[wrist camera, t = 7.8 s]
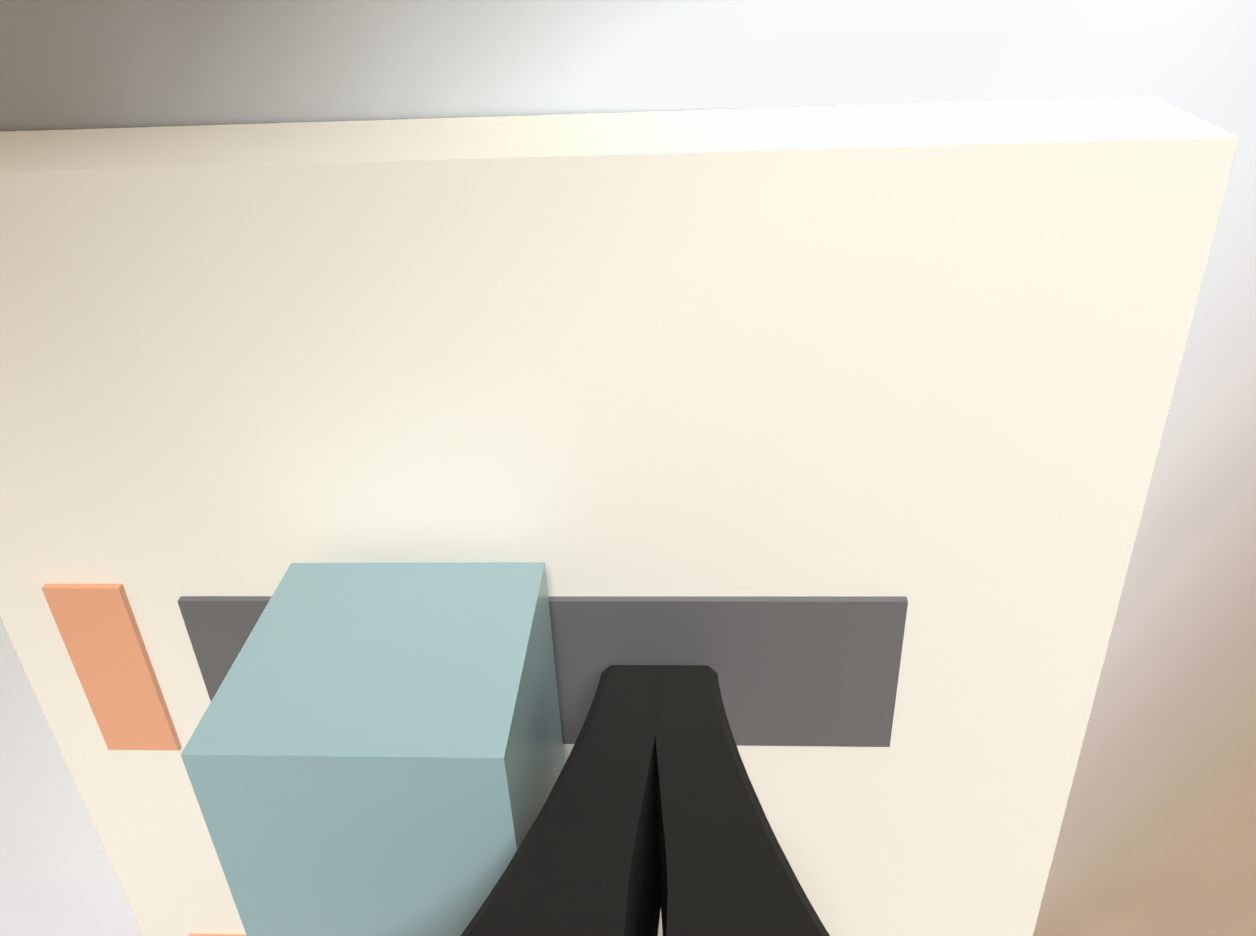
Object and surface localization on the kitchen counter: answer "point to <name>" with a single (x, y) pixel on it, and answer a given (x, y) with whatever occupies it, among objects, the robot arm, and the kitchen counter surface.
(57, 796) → the kitchen counter surface
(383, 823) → the tab
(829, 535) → the switch panel
